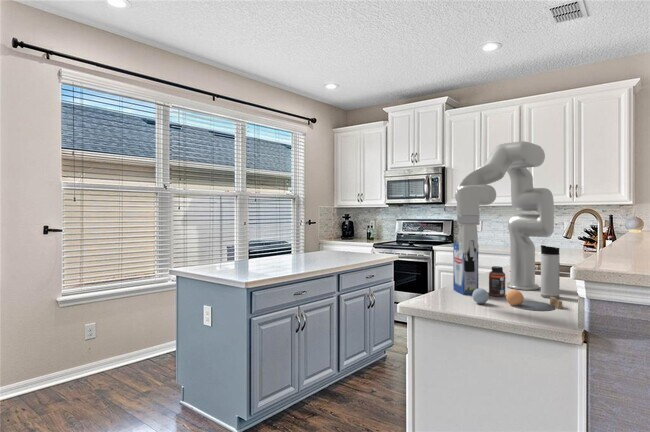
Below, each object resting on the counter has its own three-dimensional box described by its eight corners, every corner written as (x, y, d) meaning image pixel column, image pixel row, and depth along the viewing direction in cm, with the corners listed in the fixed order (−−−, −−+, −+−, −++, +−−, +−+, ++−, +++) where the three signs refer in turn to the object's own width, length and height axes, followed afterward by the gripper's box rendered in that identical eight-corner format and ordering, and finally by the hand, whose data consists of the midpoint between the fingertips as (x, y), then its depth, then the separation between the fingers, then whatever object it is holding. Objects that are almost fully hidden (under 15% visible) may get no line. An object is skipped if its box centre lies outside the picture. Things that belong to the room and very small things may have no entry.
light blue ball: (483, 287, 149) (487, 302, 147) (468, 290, 149) (472, 305, 147) (488, 286, 143) (492, 302, 142) (473, 288, 143) (477, 304, 142)
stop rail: (550, 303, 144) (550, 296, 144) (553, 304, 144) (553, 297, 144) (558, 308, 137) (558, 301, 137) (562, 308, 137) (562, 301, 137)
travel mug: (536, 295, 157) (536, 244, 157) (552, 295, 158) (552, 244, 158) (546, 299, 151) (546, 246, 151) (563, 298, 152) (563, 245, 151)
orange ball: (510, 285, 145) (523, 294, 144) (501, 297, 145) (513, 306, 145) (515, 288, 139) (529, 298, 139) (505, 300, 140) (518, 310, 139)
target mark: (505, 300, 149) (505, 300, 149) (545, 301, 147) (545, 301, 147) (517, 310, 135) (517, 309, 135) (562, 311, 133) (562, 310, 133)
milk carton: (453, 289, 169) (453, 242, 169) (467, 289, 170) (467, 242, 170) (463, 295, 160) (463, 244, 159) (478, 294, 160) (478, 244, 160)
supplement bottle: (507, 297, 155) (507, 268, 154) (490, 296, 156) (490, 267, 156) (503, 294, 161) (503, 265, 160) (487, 293, 162) (487, 265, 162)
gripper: (453, 219, 150) (454, 267, 151) (461, 222, 136) (462, 275, 136) (474, 218, 149) (475, 267, 150) (484, 221, 134) (485, 275, 135)
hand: (469, 271), depth 143 cm, fingers closed
